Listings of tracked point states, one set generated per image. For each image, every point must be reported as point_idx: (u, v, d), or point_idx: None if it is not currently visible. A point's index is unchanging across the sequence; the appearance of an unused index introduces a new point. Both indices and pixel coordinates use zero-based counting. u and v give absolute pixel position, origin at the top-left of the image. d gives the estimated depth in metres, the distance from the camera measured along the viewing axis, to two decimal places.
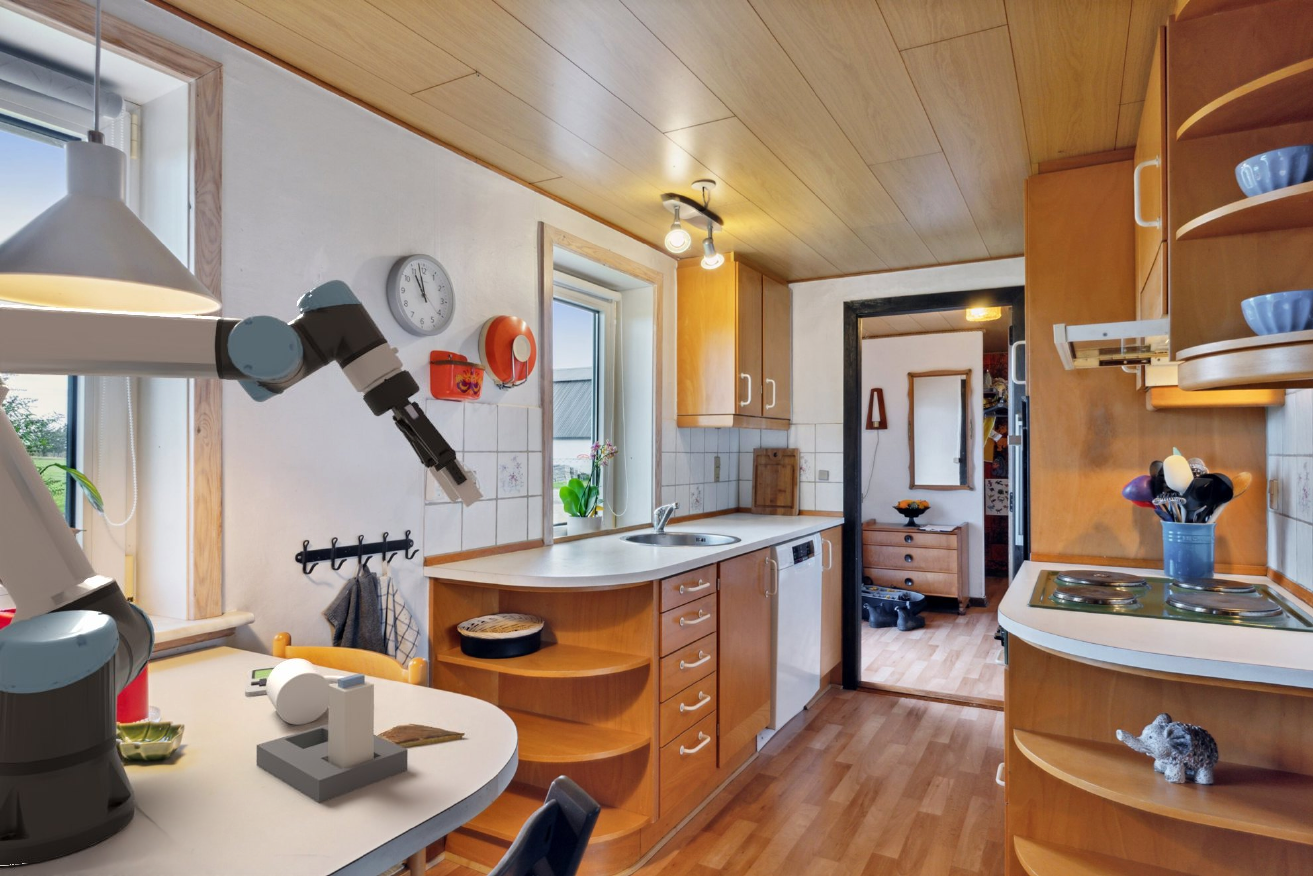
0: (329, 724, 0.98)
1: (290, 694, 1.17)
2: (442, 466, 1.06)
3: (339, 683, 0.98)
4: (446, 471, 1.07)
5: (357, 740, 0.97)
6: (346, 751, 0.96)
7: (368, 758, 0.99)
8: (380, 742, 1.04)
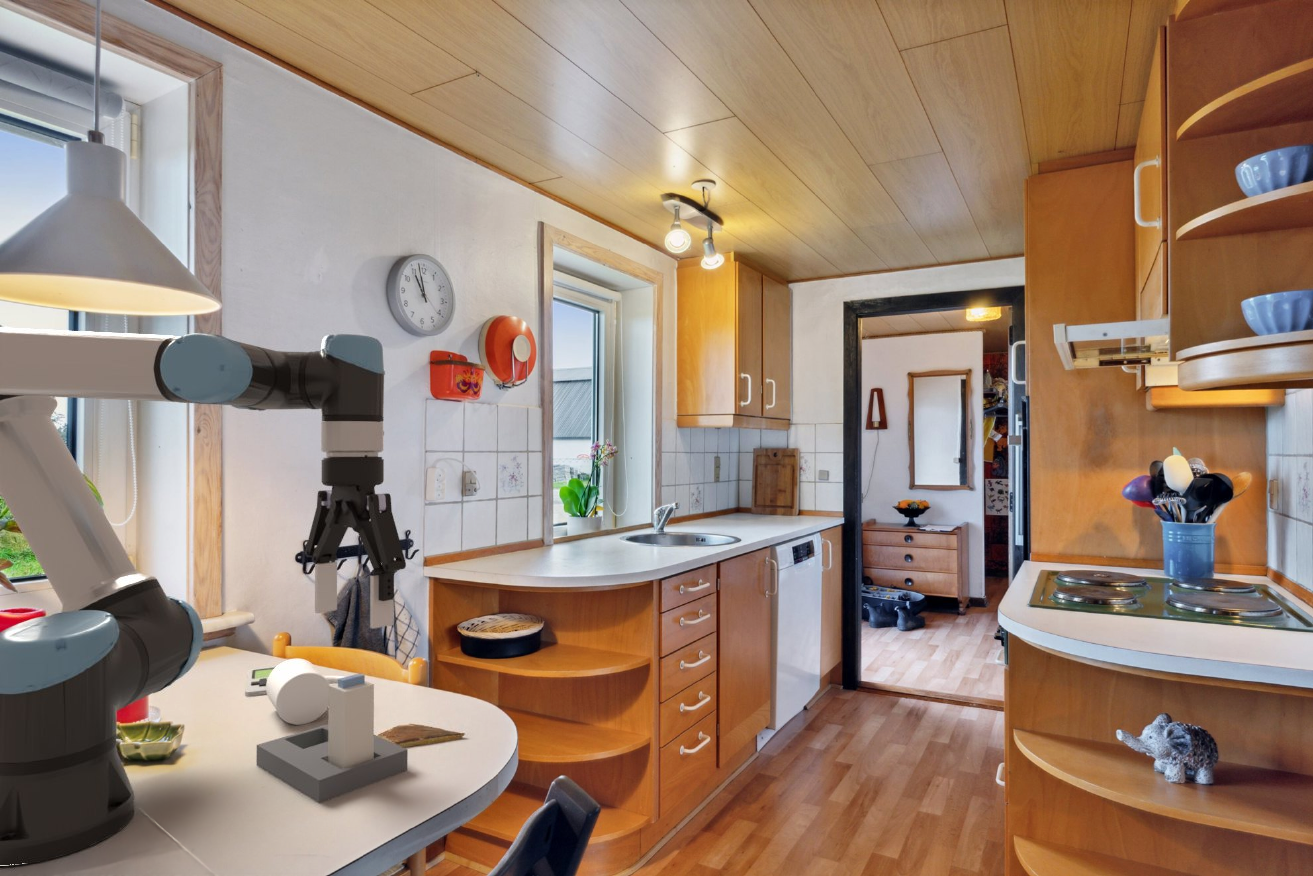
0: (329, 724, 0.98)
1: (290, 694, 1.17)
2: (380, 573, 0.94)
3: (339, 683, 0.98)
4: (377, 580, 0.94)
5: (357, 740, 0.97)
6: (346, 751, 0.96)
7: (368, 758, 0.99)
8: (380, 742, 1.04)
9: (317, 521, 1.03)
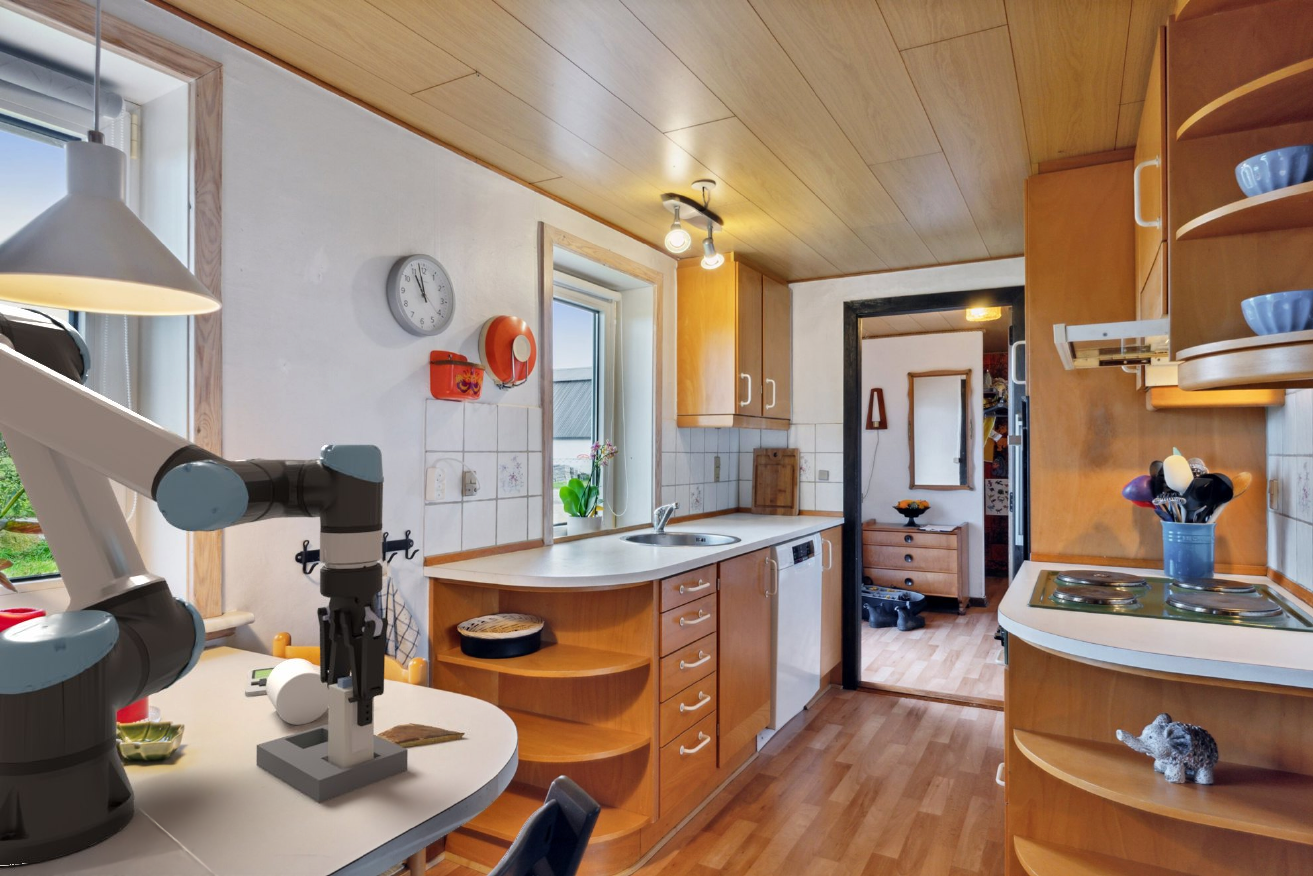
0: (329, 724, 0.98)
1: (290, 694, 1.17)
2: (358, 700, 0.96)
3: (339, 683, 0.98)
4: (356, 705, 0.96)
5: None
6: (346, 751, 0.96)
7: (368, 758, 0.99)
8: (380, 742, 1.04)
9: (323, 639, 1.01)
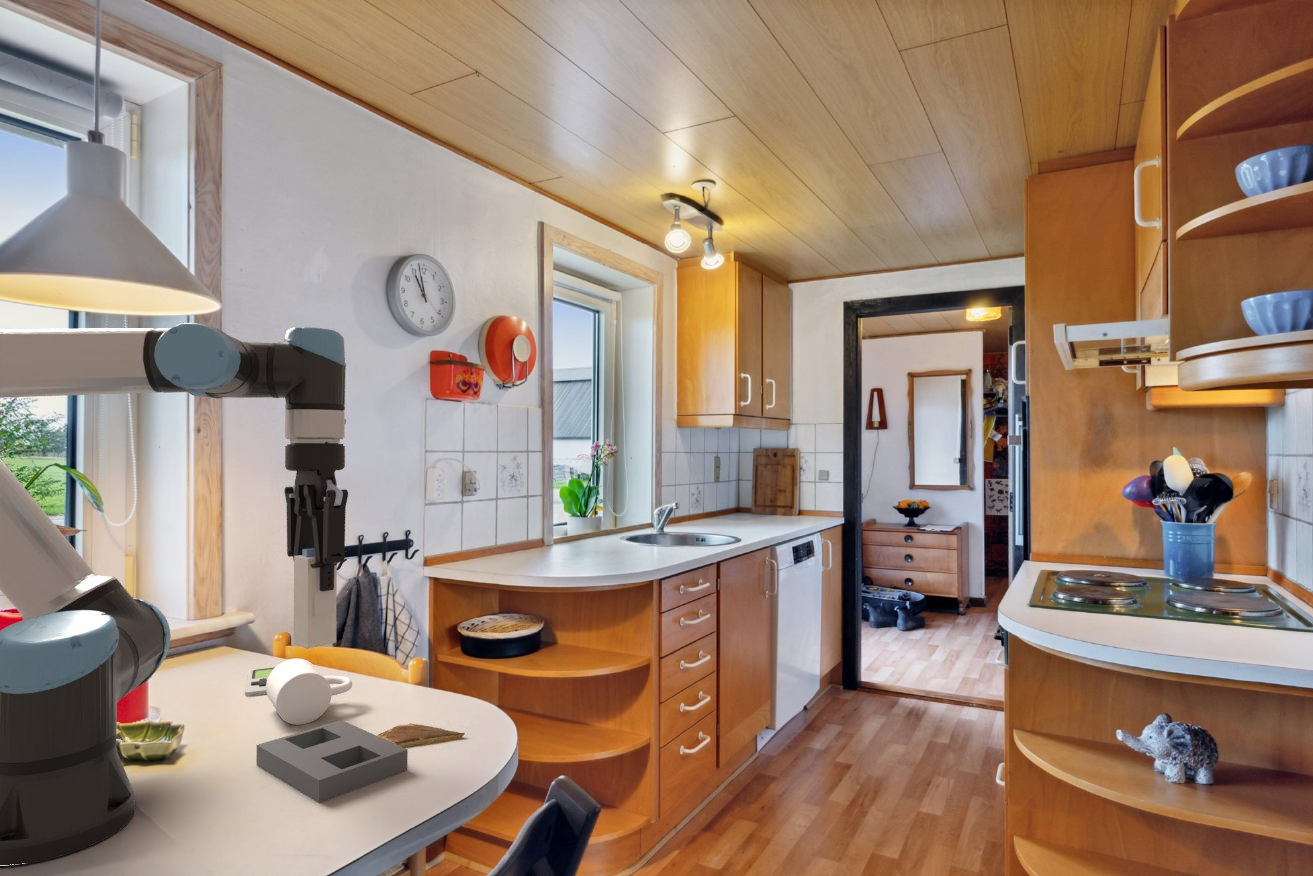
0: (294, 592, 1.05)
1: (290, 694, 1.17)
2: (320, 567, 1.02)
3: (303, 553, 1.04)
4: (318, 572, 1.03)
5: None
6: (309, 615, 1.03)
7: (331, 624, 1.05)
8: (380, 742, 1.04)
9: (290, 515, 1.07)
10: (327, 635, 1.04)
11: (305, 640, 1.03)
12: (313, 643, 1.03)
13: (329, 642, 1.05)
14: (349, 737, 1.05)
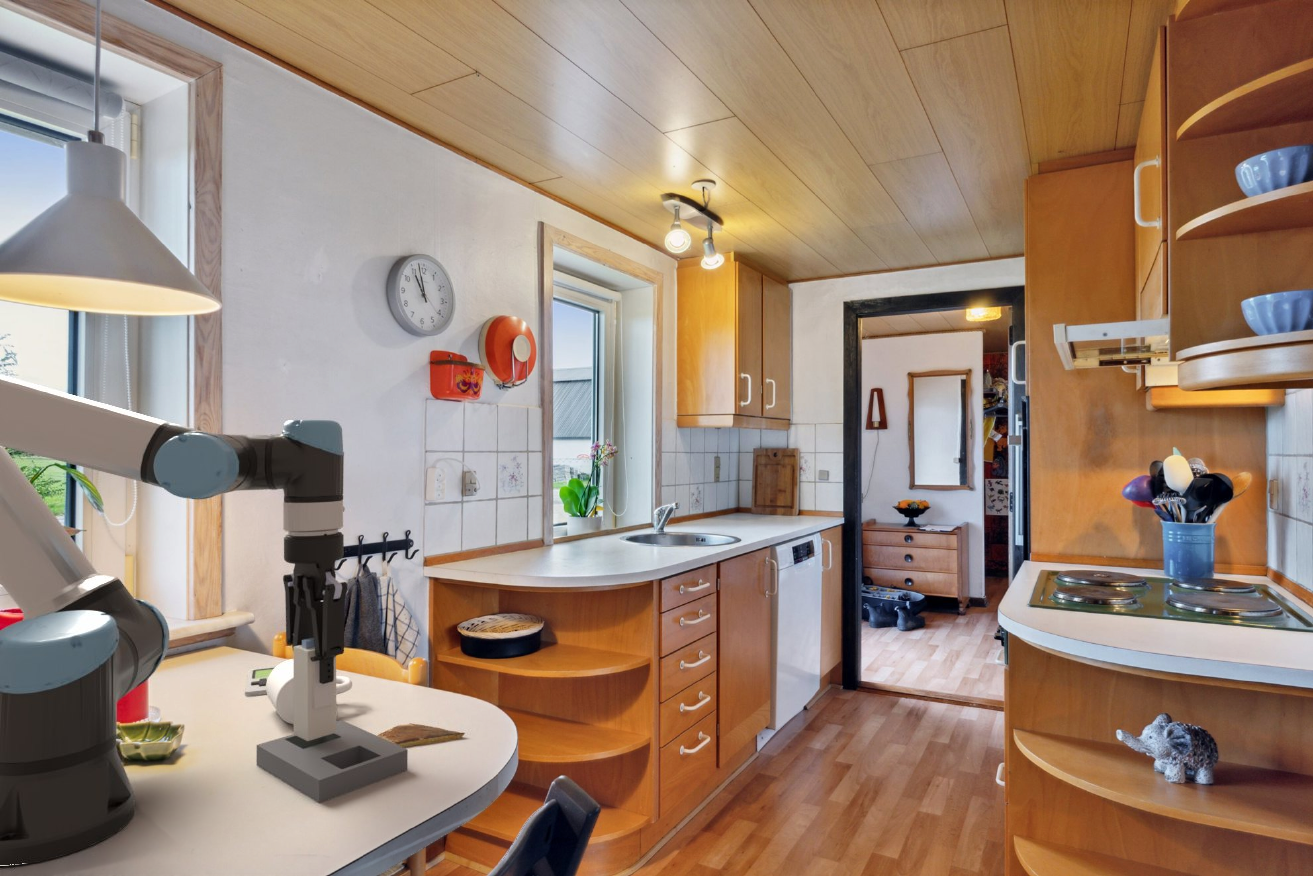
0: (294, 683, 1.05)
1: (290, 694, 1.17)
2: (319, 659, 1.02)
3: (303, 644, 1.04)
4: (318, 664, 1.03)
5: None
6: (309, 707, 1.03)
7: (331, 714, 1.05)
8: (380, 742, 1.04)
9: (289, 604, 1.07)
10: (327, 726, 1.05)
11: (305, 732, 1.03)
12: (313, 735, 1.03)
13: (329, 732, 1.05)
14: (349, 737, 1.05)
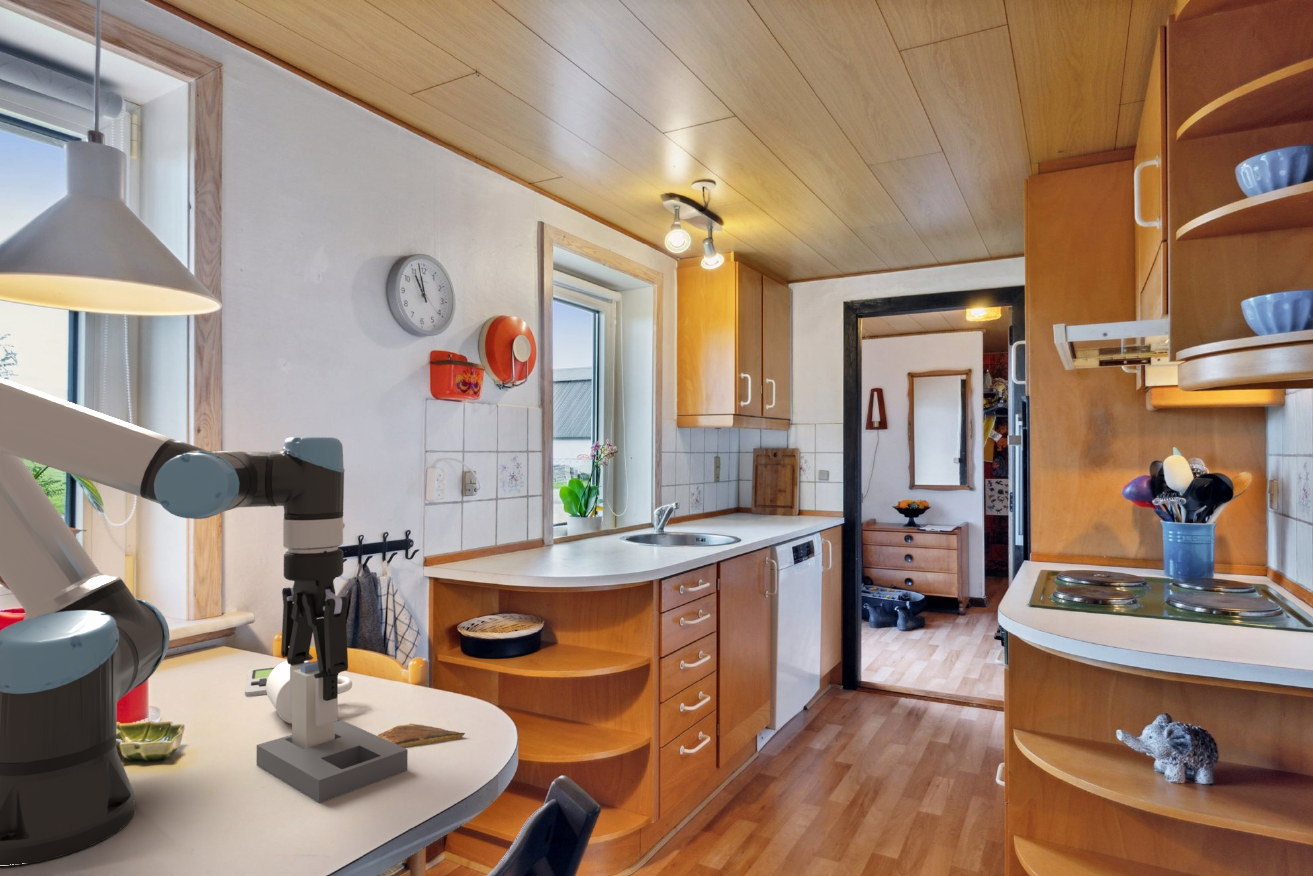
0: (293, 707, 1.05)
1: None
2: (324, 676, 1.01)
3: (302, 668, 1.04)
4: (321, 681, 1.02)
5: None
6: (308, 732, 1.03)
7: (329, 739, 1.05)
8: (380, 742, 1.04)
9: (286, 617, 1.08)
10: None
11: None
12: None
13: None
14: (349, 737, 1.05)
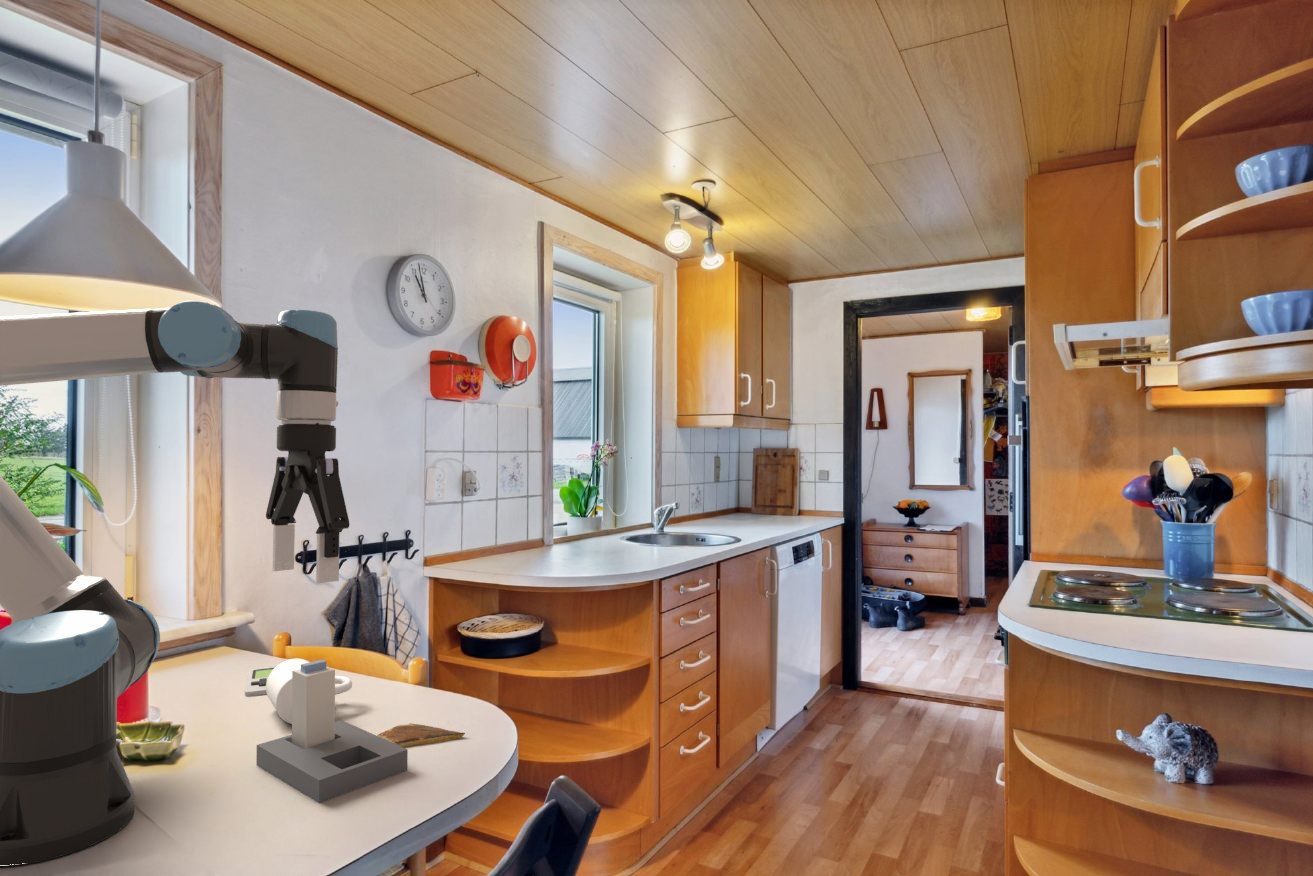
0: (293, 707, 1.05)
1: (290, 694, 1.17)
2: (325, 531, 1.00)
3: (302, 668, 1.04)
4: (323, 538, 1.01)
5: (319, 722, 1.04)
6: (308, 732, 1.03)
7: (329, 739, 1.05)
8: (380, 742, 1.04)
9: (276, 485, 1.10)
10: None
11: None
12: None
13: None
14: (349, 737, 1.05)
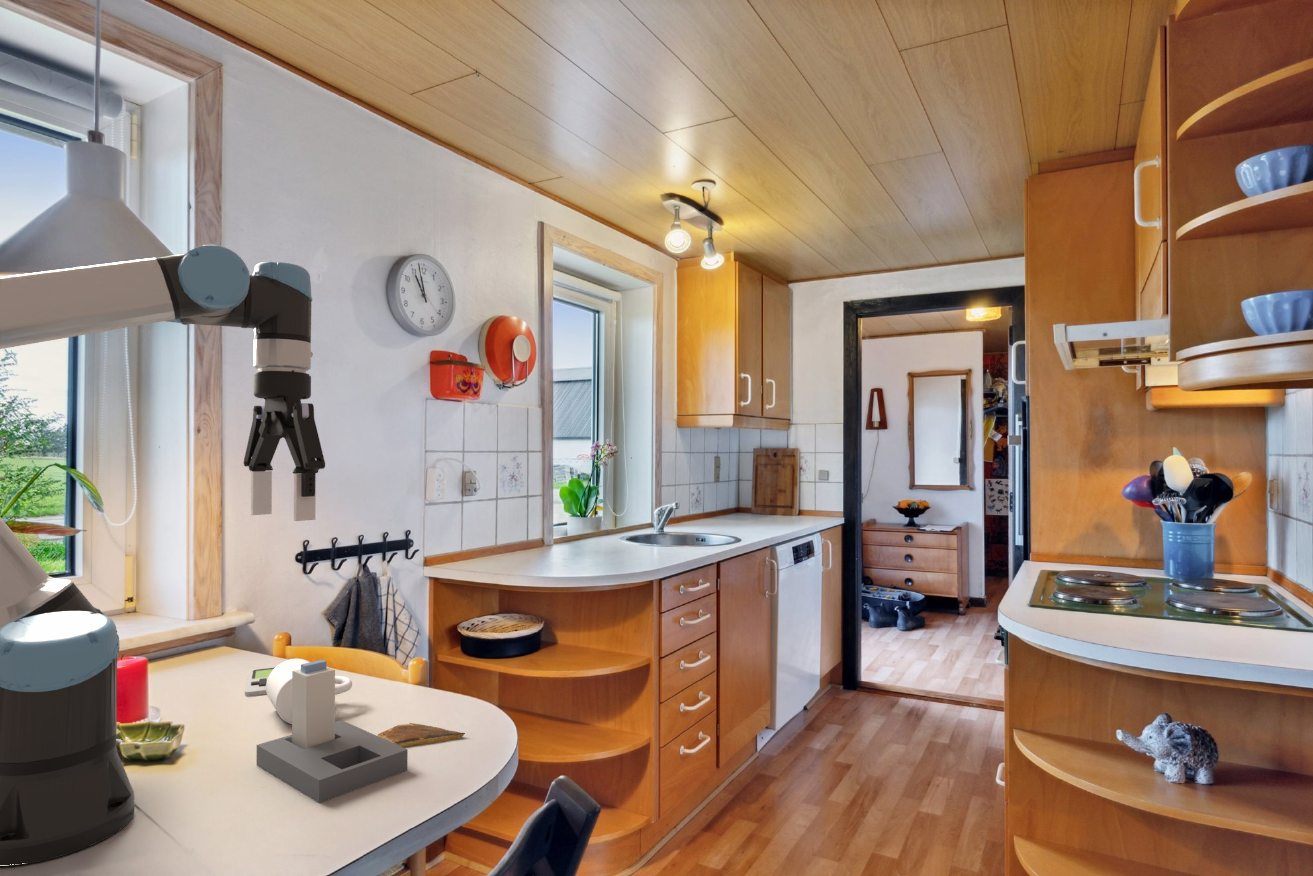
0: (293, 707, 1.05)
1: (290, 694, 1.17)
2: (302, 471, 1.05)
3: (302, 668, 1.04)
4: (300, 478, 1.06)
5: (319, 722, 1.04)
6: (308, 732, 1.03)
7: (329, 739, 1.05)
8: (380, 742, 1.04)
9: (253, 433, 1.15)
10: None
11: None
12: None
13: None
14: (349, 737, 1.05)
